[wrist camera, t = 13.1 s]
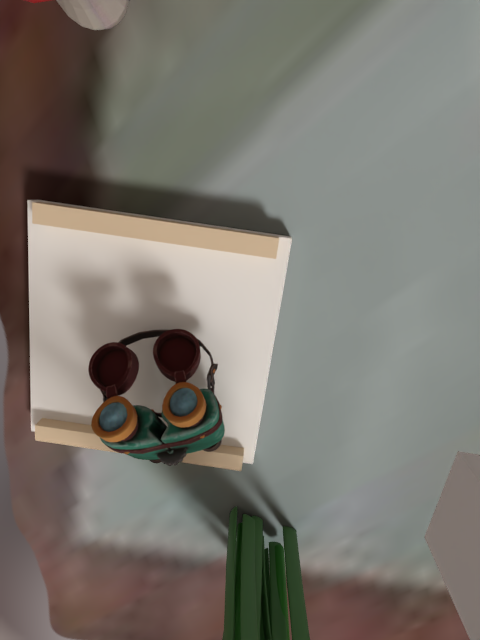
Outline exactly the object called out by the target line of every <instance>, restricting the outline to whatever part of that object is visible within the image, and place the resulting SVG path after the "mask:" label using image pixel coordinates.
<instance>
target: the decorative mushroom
mask: <svg viewBox="0 0 480 640" xmlns="http://www.w3.org/2000/svg"><path fill="white" fill-rule="evenodd" d="M25 1H28V2H32V3H37V2H44V1H50V0H25ZM57 2H58V3H59V5H60V6H61V7H62V9H63V10H64V11H65V12H66V14H67V15H68V16H69V17H70V18H71V19H73V20H74V21H75V22H77V23H78V24H79V25H81V26H83V27H86V28H89V29H93V30H103V29H110V28H112V27H114V26H115V25H117V24H118V23H120V21H121V20H122V18H123V16H124V15H125V13H126V11H127V7H128V3H129V0H57Z"/></svg>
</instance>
